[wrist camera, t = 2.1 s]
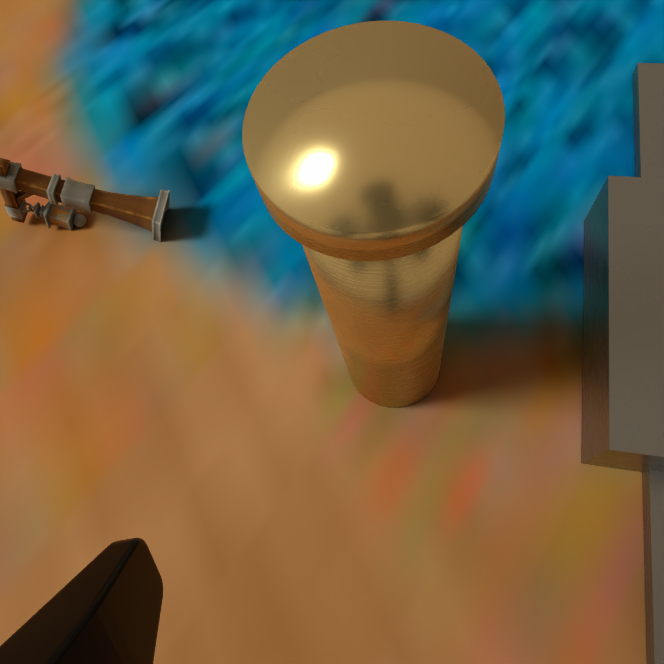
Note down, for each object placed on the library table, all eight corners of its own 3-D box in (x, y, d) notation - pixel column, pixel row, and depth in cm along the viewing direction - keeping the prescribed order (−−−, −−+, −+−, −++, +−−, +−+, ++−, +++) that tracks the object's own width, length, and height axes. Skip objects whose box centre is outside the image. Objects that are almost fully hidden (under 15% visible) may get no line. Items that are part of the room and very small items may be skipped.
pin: (474, 372, 21) (564, 124, 9) (383, 441, 21) (339, 283, 8) (403, 291, 23) (392, -15, 10) (317, 353, 22) (197, 111, 10)
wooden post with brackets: (1, 194, 27) (-30, 135, 22) (169, 234, 28) (169, 187, 24) (-12, 226, 26) (-46, 172, 22) (161, 265, 28) (160, 222, 24)
